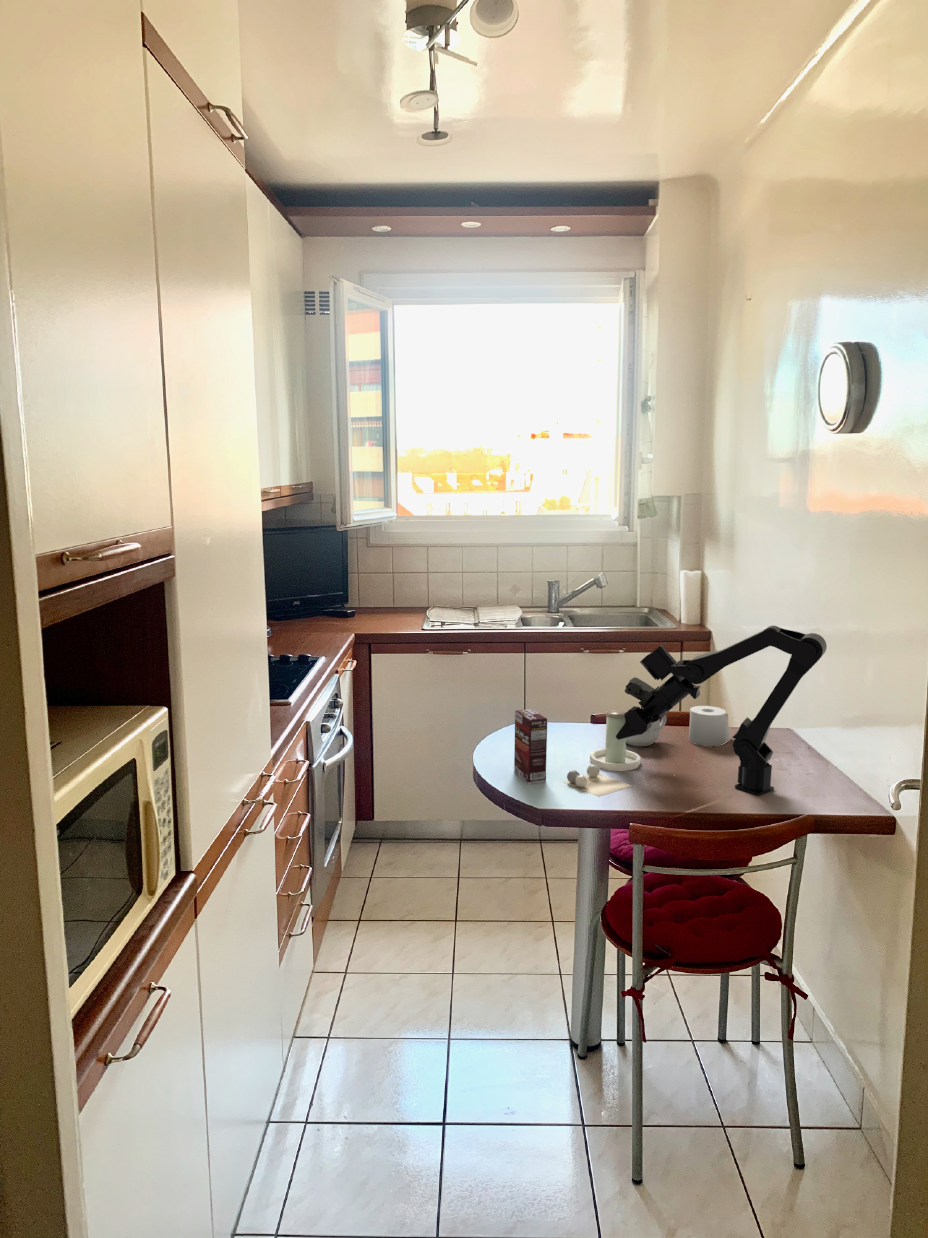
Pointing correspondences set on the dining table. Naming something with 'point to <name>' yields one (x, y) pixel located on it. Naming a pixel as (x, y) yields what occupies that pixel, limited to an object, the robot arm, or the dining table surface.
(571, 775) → the pebble
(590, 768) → the glossy white ball
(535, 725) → the supplement box
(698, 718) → the toilet tissue
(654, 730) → the teacup
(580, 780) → the pebble
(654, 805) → the dining table surface
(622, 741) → the pale green lidded canister
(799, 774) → the dining table surface
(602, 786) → the board
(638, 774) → the dining table surface
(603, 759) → the round white tray
